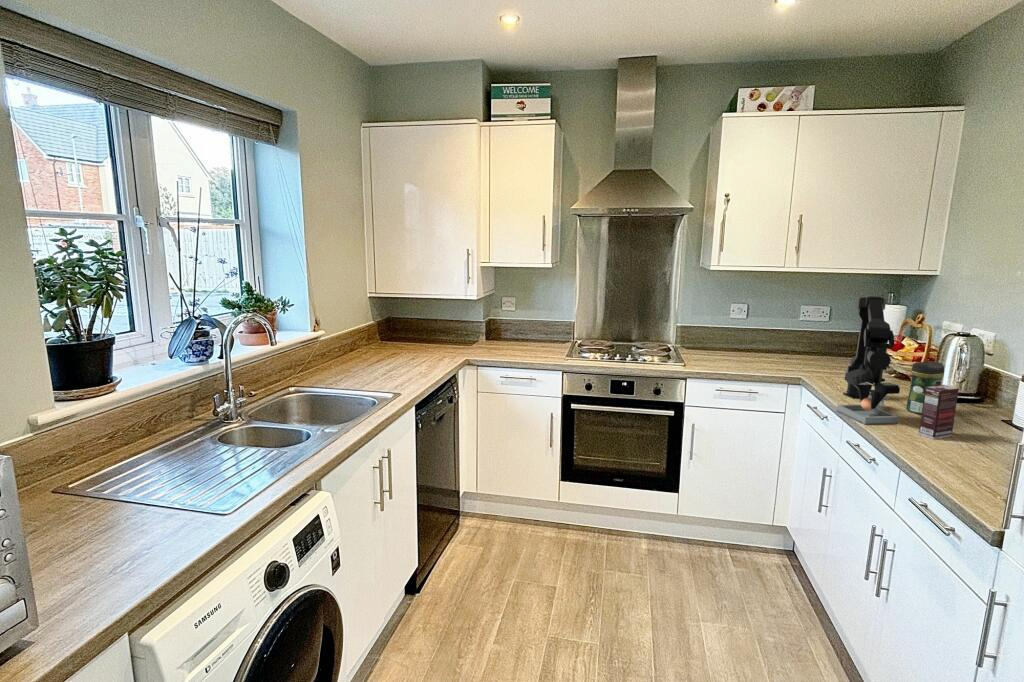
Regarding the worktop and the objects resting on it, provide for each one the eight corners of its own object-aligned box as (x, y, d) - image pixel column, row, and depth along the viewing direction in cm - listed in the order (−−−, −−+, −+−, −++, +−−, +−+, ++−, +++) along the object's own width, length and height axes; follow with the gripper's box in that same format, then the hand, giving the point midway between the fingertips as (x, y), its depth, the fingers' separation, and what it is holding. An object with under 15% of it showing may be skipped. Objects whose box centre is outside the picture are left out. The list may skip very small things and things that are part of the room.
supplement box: (935, 431, 175) (943, 384, 172) (952, 437, 171) (960, 388, 168) (917, 434, 172) (924, 386, 169) (933, 440, 168) (941, 390, 165)
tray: (836, 411, 195) (837, 405, 194) (867, 411, 196) (868, 404, 195) (864, 424, 181) (865, 417, 180) (898, 424, 182) (899, 417, 182)
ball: (857, 408, 190) (858, 396, 189) (868, 408, 190) (870, 396, 189) (866, 412, 186) (867, 400, 185) (878, 412, 186) (879, 399, 185)
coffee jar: (919, 407, 201) (927, 358, 197) (942, 414, 193) (950, 363, 190) (900, 409, 198) (908, 360, 194) (923, 416, 190) (931, 365, 187)
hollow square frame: (861, 405, 202) (863, 393, 201) (876, 405, 202) (877, 392, 201) (873, 410, 196) (874, 397, 195) (888, 410, 196) (890, 397, 196)
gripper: (833, 356, 193) (828, 399, 196) (872, 369, 175) (865, 415, 178) (862, 356, 194) (857, 398, 197) (904, 369, 176) (897, 415, 179)
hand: (867, 406), depth 188 cm, fingers closed on ball, 4 cm apart
